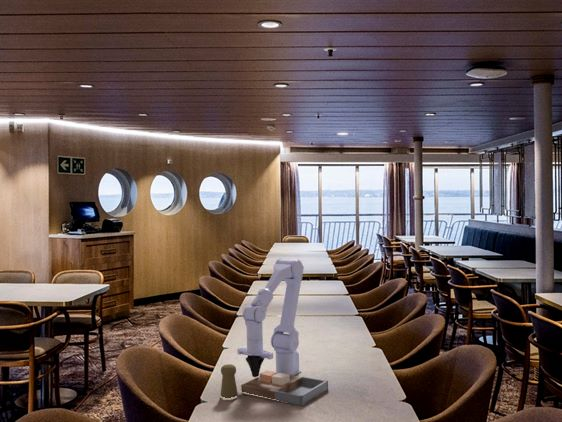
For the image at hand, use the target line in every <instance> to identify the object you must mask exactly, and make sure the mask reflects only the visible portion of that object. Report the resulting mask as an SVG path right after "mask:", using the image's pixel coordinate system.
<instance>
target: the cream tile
mask: <svg viewBox="0 0 562 422" xmlns="http://www.w3.org/2000/svg"><path fill="white" fill-rule="evenodd" d="M288 382H290V375H289V374H283V373H277V374H275V375H273V376H272V383H273V384H278V385H284V384H286V383H288Z"/></svg>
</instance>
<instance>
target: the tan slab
mask: <svg viewBox="0 0 562 422" xmlns="http://www.w3.org/2000/svg"><path fill="white" fill-rule="evenodd" d="M300 385H302V376H298V375H290V382H288V383H286V384H284V385H278V384H273V383H272V382H271V383H268V382H263V381H260V375H259V376H257V377H254V378H253V379H251V380H249V381H247V382H245V383H242V384H241V385H240V387H241V390H240V391H242V392H246V393H249V394H254V395H258V396H263V397H267V398H271V399H275V391H276V390H277V391H282V392H289V391H291V390H293V389H294V388H296V387H298V386H300Z"/></svg>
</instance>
